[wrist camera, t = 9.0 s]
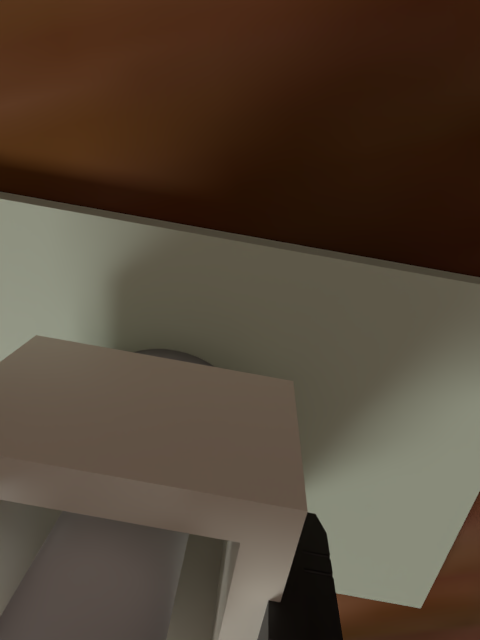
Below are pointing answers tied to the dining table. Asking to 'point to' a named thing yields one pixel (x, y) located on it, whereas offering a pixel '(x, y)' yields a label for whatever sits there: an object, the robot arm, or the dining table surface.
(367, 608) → the dining table surface
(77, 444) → the white hollow square block
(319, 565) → the robot arm
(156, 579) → the stand
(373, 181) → the dining table surface
